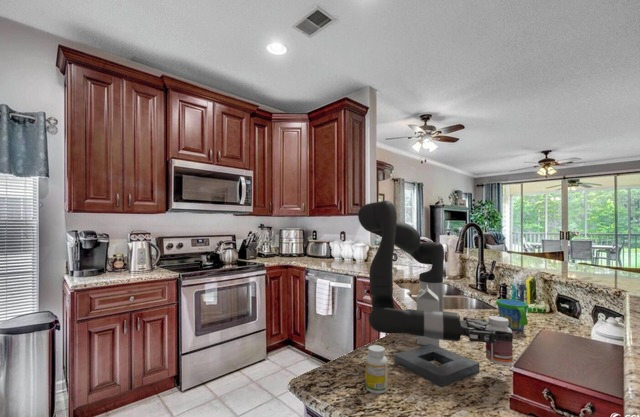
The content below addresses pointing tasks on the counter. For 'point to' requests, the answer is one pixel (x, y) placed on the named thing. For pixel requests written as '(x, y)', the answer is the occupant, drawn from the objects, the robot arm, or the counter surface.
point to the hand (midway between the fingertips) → (508, 332)
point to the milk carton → (427, 303)
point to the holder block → (439, 375)
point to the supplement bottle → (376, 370)
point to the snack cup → (513, 313)
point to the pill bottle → (499, 342)
